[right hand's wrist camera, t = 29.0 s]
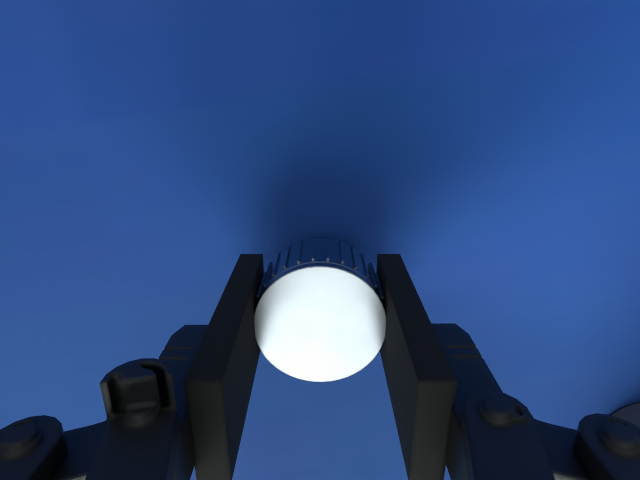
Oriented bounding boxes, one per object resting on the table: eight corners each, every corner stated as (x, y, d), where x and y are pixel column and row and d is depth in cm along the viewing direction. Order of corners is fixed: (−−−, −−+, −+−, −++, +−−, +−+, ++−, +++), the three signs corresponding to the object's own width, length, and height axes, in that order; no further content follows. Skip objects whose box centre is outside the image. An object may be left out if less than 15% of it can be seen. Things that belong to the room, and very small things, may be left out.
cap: (313, 361, 16) (312, 405, 14) (236, 284, 15) (221, 319, 13) (403, 297, 15) (417, 335, 13) (328, 211, 14) (329, 235, 12)
